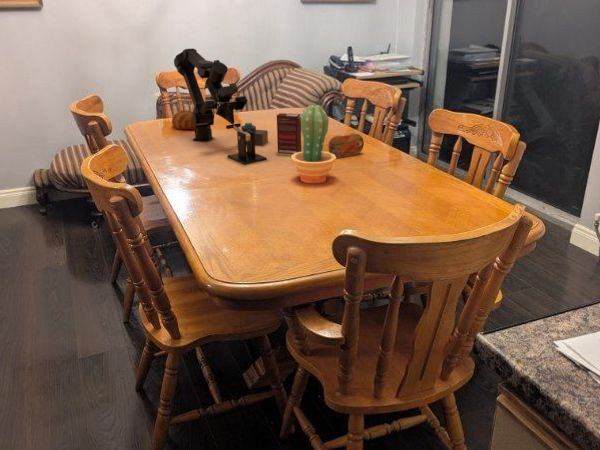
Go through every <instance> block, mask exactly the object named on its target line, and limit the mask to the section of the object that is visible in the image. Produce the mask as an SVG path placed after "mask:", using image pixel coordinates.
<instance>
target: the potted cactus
mask: <svg viewBox="0 0 600 450" xmlns="http://www.w3.org/2000/svg"><path fill="white" fill-rule="evenodd" d="M300 114H301V115H300V116H299V117H301V136H302V138H303V142H302V143H303V144H302V145H303V146H302V150H301V152H297V153H295V154H293V155H291V156H290V158H291V162H292V164H293V165H294V166H295V169H296V172H297V173H298V175H299V176H300V181H301V182H303V183H306V184H321V183H325V182H326V181H327V176H328V175H329V173H330V172H331V170H332V168H333V165H334V164H335V163H336V161H337V157H336V156H335V155H334V154H332V153H330V152H329V151H326V150H325V151H323V149H324V145H325V139H326V136H327V134H328V131H329V123H330V121H329V120H330V118H329V115H328V114H327V113H326V111H325V110H324V108H323V106H322V105H320V104H316V105H315V104H311V105H308V106H307V107H306V108H304V109H303V110H302V111H301V113H300Z"/></svg>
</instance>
